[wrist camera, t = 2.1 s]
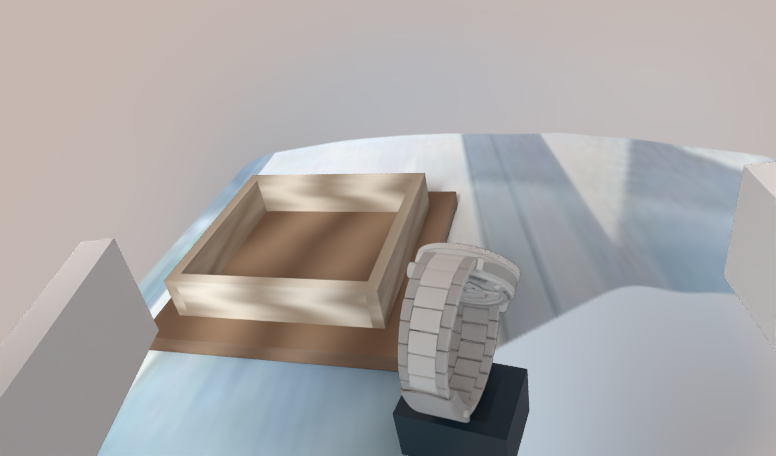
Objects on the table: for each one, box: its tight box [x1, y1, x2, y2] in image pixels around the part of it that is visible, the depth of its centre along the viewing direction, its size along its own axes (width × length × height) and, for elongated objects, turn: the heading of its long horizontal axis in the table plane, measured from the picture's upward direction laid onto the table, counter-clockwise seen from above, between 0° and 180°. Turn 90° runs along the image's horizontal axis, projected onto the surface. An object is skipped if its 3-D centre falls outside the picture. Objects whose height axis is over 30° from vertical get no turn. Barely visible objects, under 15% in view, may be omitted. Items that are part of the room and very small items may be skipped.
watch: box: [393, 243, 529, 456], centre depth 29 cm, size 6×8×11 cm
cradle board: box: [149, 173, 457, 372], centre depth 44 cm, size 18×18×4 cm
